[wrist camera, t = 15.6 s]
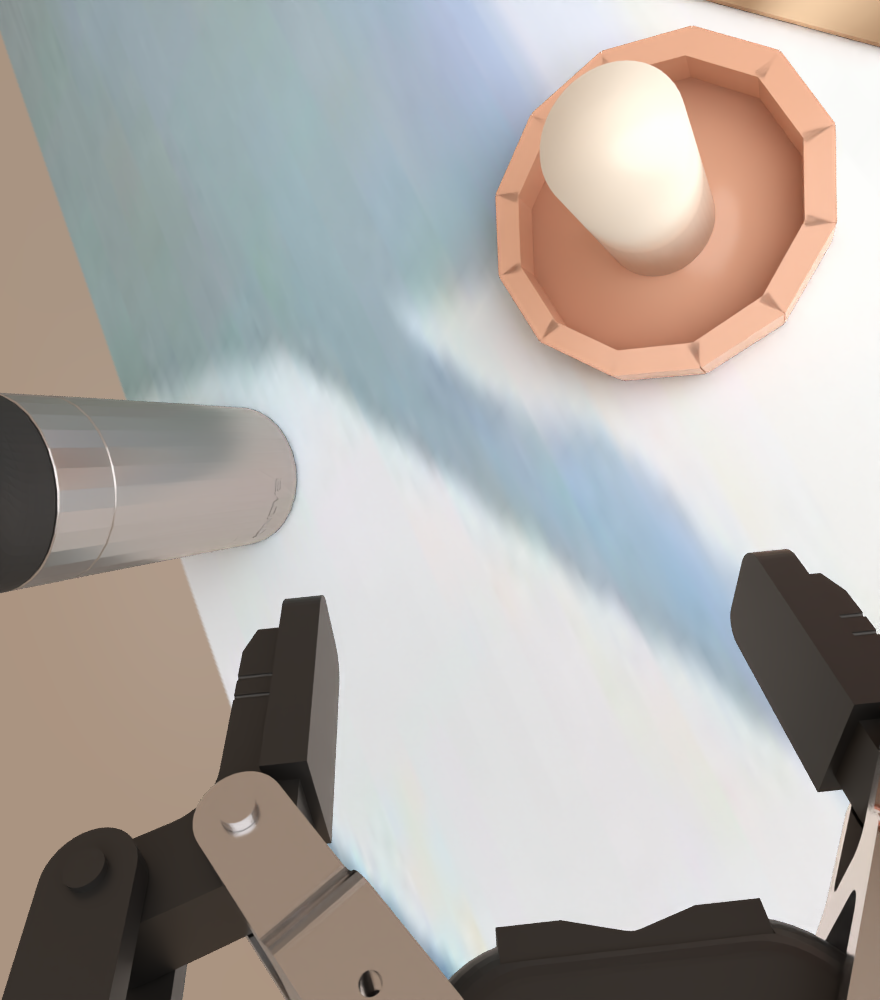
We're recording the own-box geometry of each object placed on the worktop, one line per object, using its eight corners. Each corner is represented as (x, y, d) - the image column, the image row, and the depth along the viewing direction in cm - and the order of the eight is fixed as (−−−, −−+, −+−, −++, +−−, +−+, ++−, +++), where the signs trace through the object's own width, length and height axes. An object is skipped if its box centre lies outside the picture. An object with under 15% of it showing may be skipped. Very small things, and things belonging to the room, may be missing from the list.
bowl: (471, 307, 41) (450, 298, 38) (597, 27, 37) (583, -6, 34) (724, 429, 36) (719, 428, 33) (902, 117, 32) (913, 88, 29)
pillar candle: (588, 254, 37) (516, 186, 27) (637, 152, 36) (579, 42, 26) (681, 292, 35) (640, 235, 26) (736, 187, 34) (715, 84, 24)
